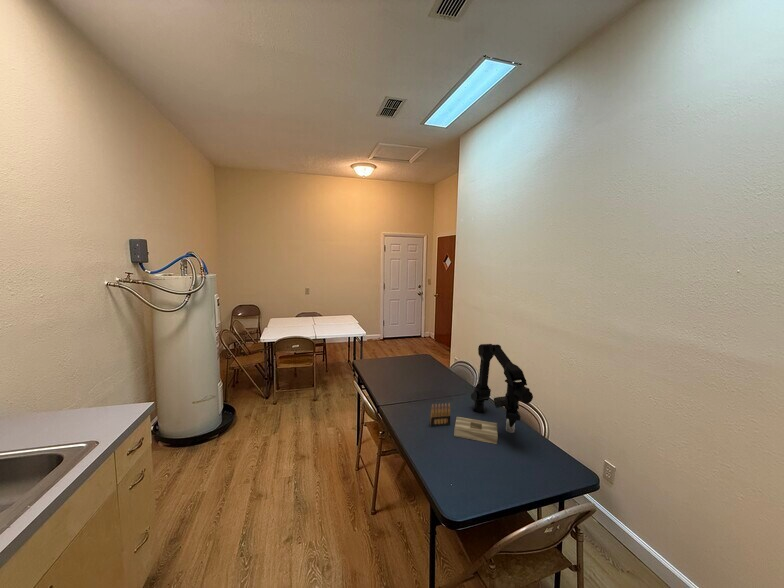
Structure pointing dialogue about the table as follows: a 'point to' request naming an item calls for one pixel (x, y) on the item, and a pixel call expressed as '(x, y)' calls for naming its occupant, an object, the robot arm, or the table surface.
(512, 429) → the metal peg
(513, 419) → the robot arm
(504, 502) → the table surface
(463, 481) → the table surface
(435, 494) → the table surface
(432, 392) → the table surface
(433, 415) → the ammunition clip
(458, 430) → the hole block
